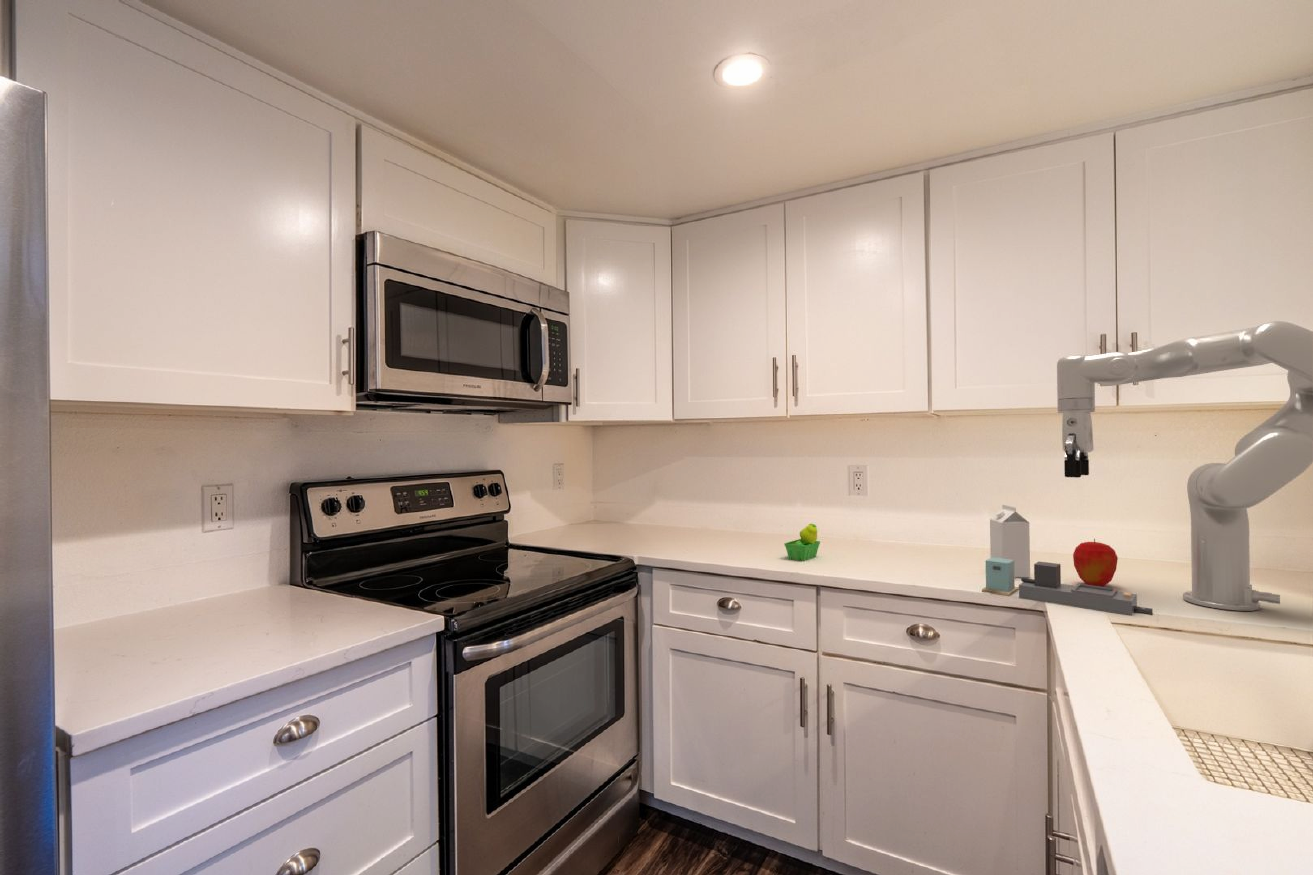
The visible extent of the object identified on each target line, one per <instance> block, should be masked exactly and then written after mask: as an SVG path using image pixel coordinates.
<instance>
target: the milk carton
mask: <svg viewBox="0 0 1313 875" xmlns="http://www.w3.org/2000/svg"><path fill="white" fill-rule="evenodd" d="M1001 506H1002V508H1001V509H1000V510H998V511H996V513H995V514H994V515H993V516H991V517H990V518H989V539H990V540H989V541H990V542H989V544H990V545H989V546H990V547H989V549H990V551H989V552H990V553H989V556H990V557H989V558H992V557H993V558H1001V559H1009V560H1014V575H1015V578H1030V577H1031V560H1030V559H1031V556H1030V554H1031V553H1030V552H1031V551H1030V549H1031V548H1030V544H1031V543H1030V541H1031V540H1030V522H1029V521H1028V520H1027V519H1026V518H1024V517H1023V516H1022V515H1020V514H1019V513H1018V511H1017V507H1015V506H1011V505H1006V504H1001Z"/></svg>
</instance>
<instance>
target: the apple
mask: <svg viewBox="0 0 1313 875" xmlns="http://www.w3.org/2000/svg"><path fill="white" fill-rule="evenodd" d="M1072 556H1073V566H1074V569H1075V570H1076V573H1077V575H1078V577H1079V578H1080V580H1081V581H1082V582H1084V584H1085V585H1092V586H1099V587H1105V586H1106V585H1107V584H1109V583H1110V582H1112V580H1113V578H1114V575H1115V573H1116V571H1117V565H1118V559H1119V557H1118V555H1117V553H1116V551H1115V549H1113V547H1111V546H1110V545H1108V544H1106V543H1102V542H1099V541H1097V542H1096V538H1094V539H1093V541H1085V542H1080V543H1079V544H1078V545H1077V546H1076V547H1075V549H1074V551H1073V554H1072Z"/></svg>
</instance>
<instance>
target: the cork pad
mask: <svg viewBox="0 0 1313 875" xmlns="http://www.w3.org/2000/svg"><path fill="white" fill-rule="evenodd" d="M981 592H983V593H988V594H994V595H1001V596H1007V597H1010V596H1012V595H1013V594H1014V593H1016V592H1019V586H1015V589H1013V590H1011V591H1010V592H1004V591H997V590H991V589H986V586H985V587H983V588H982V589H981Z"/></svg>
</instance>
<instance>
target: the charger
mask: <svg viewBox="0 0 1313 875" xmlns="http://www.w3.org/2000/svg"><path fill="white" fill-rule="evenodd" d="M1015 579H1016V577H1015V575H1014V560H1009V559H1001V558H993V557H992V558H991V557H989V558H988V559H985V587H986V589H991V590H997V591H1004V592H1010V591H1011V590H1013V589H1015V587H1016V586H1015V585H1016V584H1015V583H1016V582H1015V581H1016V580H1015Z"/></svg>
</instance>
